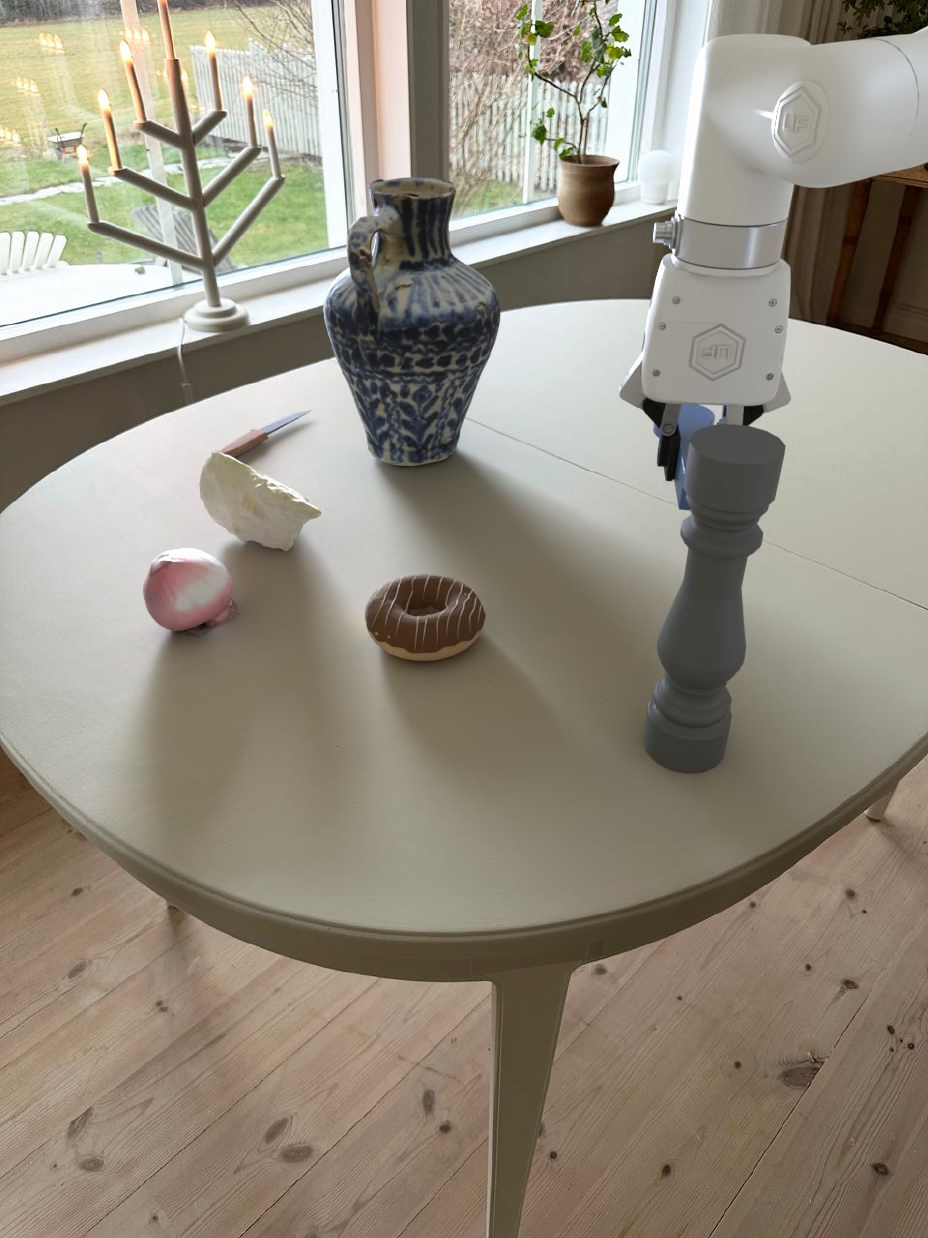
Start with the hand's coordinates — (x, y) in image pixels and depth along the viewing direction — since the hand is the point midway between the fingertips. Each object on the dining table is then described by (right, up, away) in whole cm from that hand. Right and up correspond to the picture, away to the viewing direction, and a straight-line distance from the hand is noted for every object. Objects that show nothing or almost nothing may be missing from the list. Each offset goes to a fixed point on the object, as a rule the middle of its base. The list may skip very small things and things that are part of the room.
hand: (691, 472), depth 76 cm
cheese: (-38, -4, +20) cm, 43 cm away
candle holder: (-2, -22, -5) cm, 23 cm away
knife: (-44, +11, +40) cm, 60 cm away
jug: (-25, +8, +36) cm, 44 cm away
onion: (-43, -12, +8) cm, 46 cm away
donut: (-22, -14, +6) cm, 27 cm away
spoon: (0, +1, +2) cm, 2 cm away
